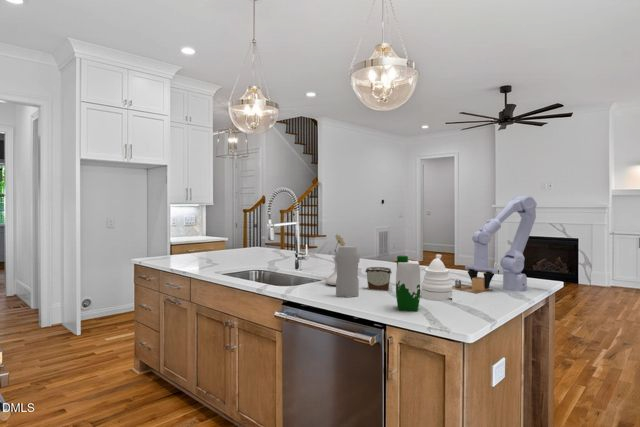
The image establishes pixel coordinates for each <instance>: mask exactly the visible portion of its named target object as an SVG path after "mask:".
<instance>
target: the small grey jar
mask: <svg viewBox="0 0 640 427" xmlns="http://www.w3.org/2000/svg"><path fill="white" fill-rule="evenodd" d="M454 282H455V283H454V286H455V288H461V284H462V281H461V279H459V278H457V279H456V280H455V281H454Z"/></svg>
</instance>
